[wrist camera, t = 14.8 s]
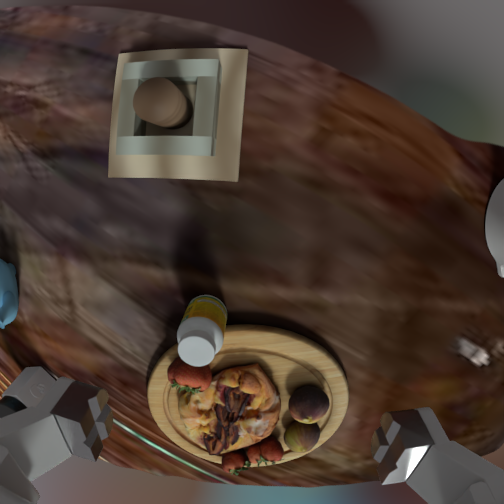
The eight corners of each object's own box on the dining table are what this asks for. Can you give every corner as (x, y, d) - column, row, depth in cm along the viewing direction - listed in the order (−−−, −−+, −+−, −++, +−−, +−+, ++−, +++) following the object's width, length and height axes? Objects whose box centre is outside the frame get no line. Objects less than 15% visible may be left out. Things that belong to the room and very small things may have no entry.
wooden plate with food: (113, 353, 44) (92, 386, 36) (316, 286, 40) (330, 318, 33) (204, 468, 53) (200, 500, 45) (361, 430, 49) (372, 464, 42)
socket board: (248, 51, 32) (247, 37, 28) (238, 181, 37) (235, 184, 32) (121, 55, 32) (106, 44, 27) (111, 176, 36) (93, 179, 32)
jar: (68, 390, 47) (40, 433, 35) (54, 406, 48) (28, 445, 37) (33, 356, 45) (-2, 395, 33) (21, 375, 46) (-10, 411, 35)
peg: (194, 93, 33) (180, 76, 25) (191, 129, 34) (176, 121, 26) (157, 94, 33) (135, 78, 25) (155, 129, 34) (131, 122, 26)
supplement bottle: (222, 333, 42) (215, 377, 33) (184, 323, 42) (168, 365, 33) (231, 299, 41) (226, 338, 32) (191, 288, 41) (175, 325, 31)
